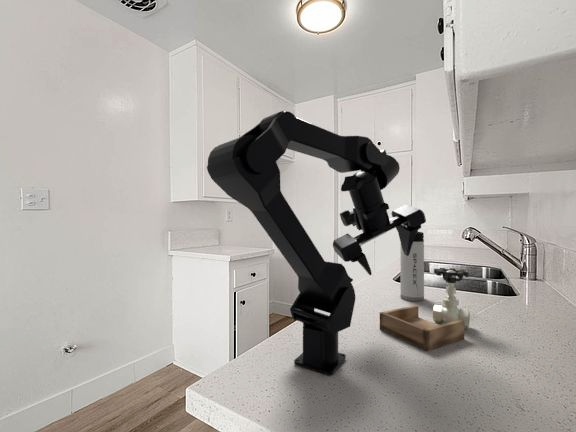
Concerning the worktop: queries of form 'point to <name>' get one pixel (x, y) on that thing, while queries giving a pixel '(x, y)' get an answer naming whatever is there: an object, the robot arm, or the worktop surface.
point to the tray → (420, 328)
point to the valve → (451, 299)
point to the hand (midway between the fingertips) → (388, 264)
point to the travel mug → (413, 270)
